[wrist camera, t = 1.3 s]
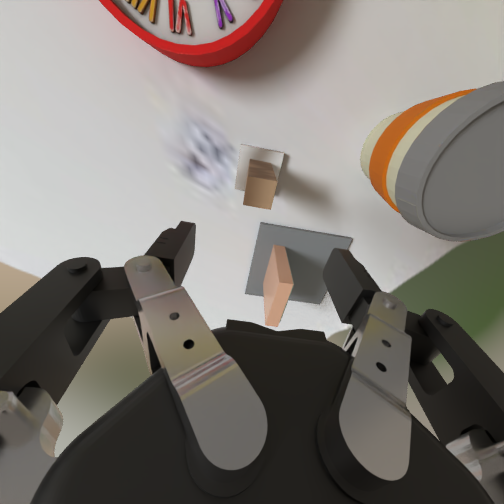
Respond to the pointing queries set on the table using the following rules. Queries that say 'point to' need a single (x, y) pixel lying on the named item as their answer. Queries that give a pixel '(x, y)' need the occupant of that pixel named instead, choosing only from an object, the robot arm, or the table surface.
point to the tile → (277, 286)
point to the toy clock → (197, 26)
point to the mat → (295, 259)
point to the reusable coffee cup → (443, 163)
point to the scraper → (258, 175)
